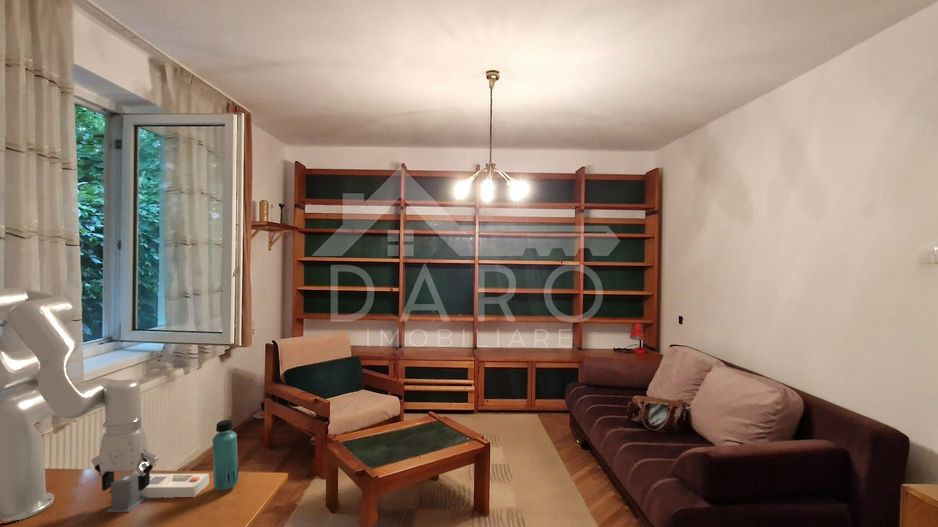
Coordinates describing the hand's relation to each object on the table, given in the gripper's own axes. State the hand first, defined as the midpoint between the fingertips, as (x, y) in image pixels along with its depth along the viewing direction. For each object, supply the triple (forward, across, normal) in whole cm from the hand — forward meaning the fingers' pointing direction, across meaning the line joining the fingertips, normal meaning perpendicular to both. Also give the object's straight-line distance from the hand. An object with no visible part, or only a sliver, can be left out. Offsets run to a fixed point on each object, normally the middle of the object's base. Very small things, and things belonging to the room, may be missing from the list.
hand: (126, 487), depth 115 cm
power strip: (+5, +3, +7) cm, 9 cm away
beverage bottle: (+5, +23, +8) cm, 25 cm away
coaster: (+5, 0, 0) cm, 5 cm away
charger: (+4, 0, 0) cm, 5 cm away
